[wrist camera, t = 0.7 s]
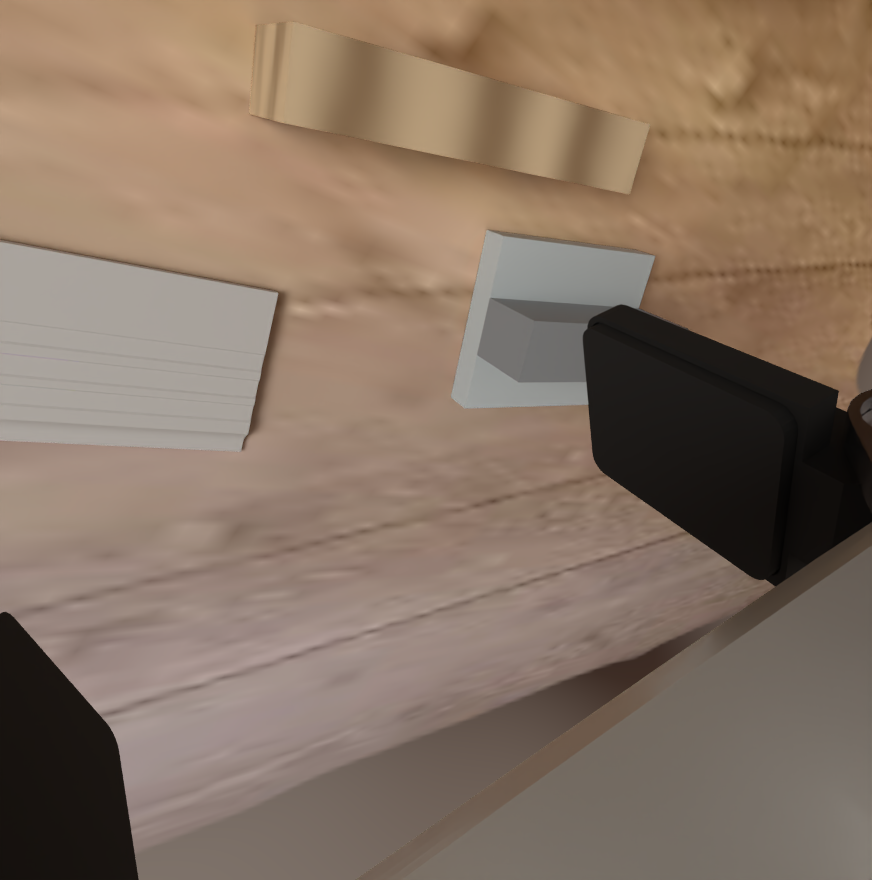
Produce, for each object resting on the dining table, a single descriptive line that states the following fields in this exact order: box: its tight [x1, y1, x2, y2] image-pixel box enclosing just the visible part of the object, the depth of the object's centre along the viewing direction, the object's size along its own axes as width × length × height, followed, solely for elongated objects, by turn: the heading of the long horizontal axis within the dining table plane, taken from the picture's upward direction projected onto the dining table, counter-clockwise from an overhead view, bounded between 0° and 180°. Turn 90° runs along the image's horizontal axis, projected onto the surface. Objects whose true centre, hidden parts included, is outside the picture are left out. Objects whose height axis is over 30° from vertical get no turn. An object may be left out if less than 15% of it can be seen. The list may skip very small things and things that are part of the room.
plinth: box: [451, 230, 688, 408], centre depth 48 cm, size 12×14×7 cm
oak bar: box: [249, 21, 650, 195], centre depth 38 cm, size 22×4×6 cm, turn 78°
